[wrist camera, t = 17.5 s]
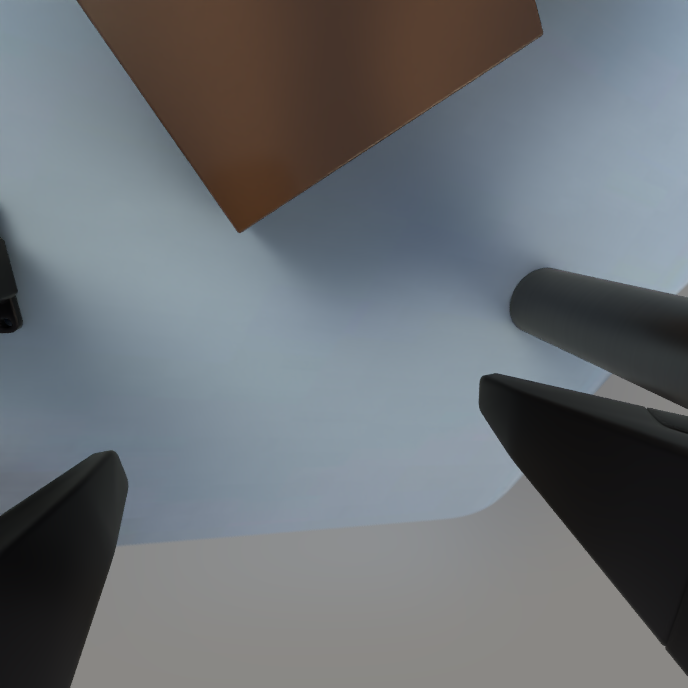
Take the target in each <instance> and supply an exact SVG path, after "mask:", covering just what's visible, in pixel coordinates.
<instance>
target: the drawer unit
mask: <svg viewBox="0 0 688 688" xmlns="http://www.w3.org/2000/svg"><path fill="white" fill-rule="evenodd" d="M76 1H77V2H78V3H79V5H80V6H81V8H82V9H83V11H84V12H85V14H86V15H87V16H88V18H89V19H90V21H91V22H92V24H93V25H94V26H95V28H96V29H97V31H98V32H99V34H100V35H101V37H102V38H103V39H104V41H105V42H106V44H107V45H108V47H109V48H110V49H111V51H112V52H113V54H114V55H115V57H116V58H117V60H118V61H119V62H120V64H121V65H122V67H123V68H124V70H125V71H126V72H127V74H128V75H129V77H130V78H131V80H132V81H133V83H134V84H135V85H136V87H137V88H138V90H139V91H140V93H141V94H142V95H143V97H144V98H145V100H146V101H147V103H148V104H149V106H150V107H151V108H152V110H153V111H154V113H155V114H156V116H157V117H158V118H159V120H160V121H161V123H162V124H163V126H164V127H165V129H166V130H167V131H168V133H169V134H170V136H171V137H172V139H173V140H174V141H175V143H176V144H177V146H178V147H179V149H180V150H181V152H182V153H183V154H184V156H185V157H186V159H187V160H188V162H189V163H190V164H191V166H192V167H193V169H194V170H195V172H196V173H197V175H198V176H199V177H200V179H201V180H202V182H203V183H204V185H205V186H206V187H207V189H208V190H209V192H210V193H211V195H212V196H213V198H214V199H215V200H216V202H217V203H218V205H219V206H220V208H221V209H222V210H223V212H224V213H225V215H226V216H227V218H228V219H229V221H230V222H231V223H232V225H233V226H234V228H235V229H236V231H237V232H238V233H241V232H243V231H244V230H246V229H248V228H249V227H251V226H252V225H254V224H255V223H257V222H258V221H260V220H261V219H263V218H264V217H266V216H267V215H269V214H270V213H272V212H274V211H275V210H277V209H278V208H280V207H281V206H283V205H284V204H286V203H287V202H289V201H290V200H292V199H293V198H295V197H296V196H298V195H299V194H301V193H303V192H304V191H306V190H307V189H309V188H310V187H312V186H313V185H315V184H316V183H318V182H319V181H321V180H322V179H324V178H325V177H327V176H329V175H330V174H332V173H333V172H335V171H336V170H338V169H339V168H341V167H342V166H344V165H345V164H347V163H348V162H350V161H351V160H353V159H354V158H356V157H358V156H359V155H361V154H362V153H364V152H365V151H367V150H368V149H370V148H371V147H373V146H374V145H376V144H377V143H379V142H380V141H382V140H384V139H385V138H387V137H388V136H390V135H391V134H393V133H394V132H396V131H397V130H399V129H400V128H402V127H403V126H405V125H406V124H408V123H410V122H411V121H413V120H414V119H416V118H417V117H419V116H420V115H422V114H423V113H425V112H426V111H428V110H429V109H431V108H432V107H434V106H435V105H437V104H439V103H440V102H442V101H443V100H445V99H446V98H448V97H449V96H451V95H452V94H454V93H455V92H457V91H458V90H460V89H461V88H463V87H465V86H466V85H468V84H469V83H471V82H472V81H474V80H475V79H477V78H478V77H480V76H481V75H483V74H484V73H486V72H487V71H489V70H490V69H492V68H494V67H495V66H497V65H498V64H500V63H501V62H503V61H504V60H506V59H507V58H509V57H510V56H512V55H513V54H515V53H516V52H518V51H520V50H521V49H523V48H524V47H526V46H527V45H529V44H530V43H532V42H533V41H535V40H536V39H538V38H539V37H541V36H542V35H543V29H542V25H541V21H540V18H539V14H538V10H537V6H536V2H535V0H76Z"/></svg>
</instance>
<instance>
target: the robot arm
mask: <svg viewBox="0 0 688 688" xmlns="http://www.w3.org/2000/svg"><path fill="white" fill-rule="evenodd" d="M17 292H18V290H17V286H16V282H15V279H14V275H13V271H12V268H11V264H10V260H9V256H8V253H7V249H6V245H5V242H4V240H3V239H2V238H1V237H0V333H12V332H14V331H16V330H18V329H20V328H21V327H22V325H23V320H22V317H21V313H20V309H19V306H18V302H17V298H16V293H17ZM5 318H6V319H9V320H10V321H11V322H12V326H10V325H8V324H6V323H5ZM479 408H480V411H481V413H482V415H483V416H484V418H485V419H486V421H487V422H488V424H489V425H490V427H491V428H492V430H493V431H494V433H495V435H496V436H497V438H498V439H499V441H500V442H501V444H502V445H503V447H504V448H505V450H506V451H507V453H508V454H509V456H510V457H511V458H512V460H513V461H514V462H515V464H516V465H517V466H518V467H519V469H520V470H521V471H522V472H523V474H524V475H525V476H526V477H527V478H528V480H529V481H530V482H531V483H532V485H533V486H534V487H535V488H536V490H537V491H538V492H539V493H540V494H541V496H542V497H543V498H544V499H545V501H546V502H547V503H548V504H549V506H550V507H551V508H552V509H553V511H554V512H555V513H556V514H557V515H558V517H559V518H560V519H561V520H562V521H563V523H564V524H565V525H566V527H567V528H568V529H569V530H570V531H571V533H572V534H573V535H574V536H575V538H576V539H577V540H578V541H579V543H580V544H581V545H582V546H583V548H584V549H585V550H586V551H587V552H588V554H589V555H590V556H591V557H592V559H593V560H594V561H595V562H596V564H597V565H598V566H599V567H600V568H601V570H602V571H603V572H604V573H605V575H606V576H607V577H608V578H609V579H610V581H611V582H612V583H613V584H614V586H615V587H616V588H617V589H618V591H619V592H620V593H621V594H622V596H623V597H624V598H625V599H626V600H627V602H628V603H629V604H630V605H631V607H632V608H633V609H634V610H635V612H636V613H637V614H638V615H639V616H640V618H641V619H642V620H643V621H644V622H645V624H646V625H647V626H648V628H649V629H650V630H651V631H652V633H653V634H654V635H655V636H656V637H657V639H658V640H659V641H660V642H661V644H662V645H664V646H666V647H665V648H666V650H667V651H668V653H669V654H670V655H671V656H672V658H673V659H674V660H675V661H676V663H677V664H678V665H679V666H680V667H681V669H682V670H683V671H684V672H685V674H686V675H687V676H688V416H684V415H679V414H675V413H670V412H665V411H661V410H657V409H652V408H647V409H646V408H645V407H643V406H639V405H634V404H630V403H626V402H621V401H617V400H612V399H608V398H603V397H599V396H595V395H590V394H586V393H582V392H577V391H573V390H568V389H564V388H559V387H555V386H551V385H546V384H542V383H537V382H533V381H529V380H524V379H520V378H515V377H511V376H507V375H502V374H498V373H494V374H489V375H485V376H482V377H481V379H480V383H479ZM127 492H128V479H127V476H126V474H125V471H124V469H123V466H122V464H121V461H120V459H119V456H118V454H117V453H116V452H115V451H113V450H109V451H104V452H99V453H95V454H92V455H91V456H89V457H88V458H86V459H85V460H83V461H82V462H80V463H79V464H77V465H76V466H74V467H73V468H71V469H70V470H68V471H67V472H65V473H64V474H62V475H61V476H59V477H58V478H56V479H55V480H53V481H52V482H50V483H49V484H47V485H46V486H44V487H43V488H41V489H40V490H38V491H37V492H35V493H34V494H32V495H31V496H29V497H28V498H26V499H25V500H23V501H22V502H20V503H19V504H17V505H16V506H14V507H13V508H11V509H10V510H8V511H7V512H5V513H4V514H2V515H1V516H0V688H70V686H71V683H72V680H73V677H74V674H75V671H76V668H77V665H78V662H79V659H80V656H81V653H82V650H83V647H84V644H85V641H86V638H87V635H88V632H89V629H90V626H91V623H92V620H93V617H94V614H95V611H96V608H97V605H98V601H99V599H100V596H101V593H102V589H103V587H104V584H105V581H106V578H107V574H108V572H109V569H110V565H111V562H112V559H113V556H114V552H115V548H116V544H117V539H118V535H119V530H120V525H121V520H122V516H123V511H124V506H125V502H126V497H127Z"/></svg>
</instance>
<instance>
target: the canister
mask: <svg viewBox="0 0 688 688" xmlns="http://www.w3.org/2000/svg"><path fill="white" fill-rule="evenodd" d="M510 315H511V318H512V320H513V322H514V324H515V325H516V326H517V327H518V328H519V329H520V330H522V331H524V332H526V333H528V334H531V335H533V336H535V337H537V338H539V339H541V340H543V341H545V342H547V343H550V344H552V345H554V346H556V347H558V348H560V349H562V350H564V351H566V352H568V353H571V354H573V355H575V356H577V357H579V358H581V359H583V360H585V361H587V362H590V363H592V364H594V365H596V366H598V367H600V368H602V369H604V370H606V371H608V372H611V373H613V374H615V375H617V376H619V377H621V378H624V379H625V380H628V381H630V382H632V383H634V384H636V385H638V386H640V387H642V388H644V389H646V390H648V391H651V392H653V393H655V394H657V395H659V396H661V397H663V398H665V399H667V400H670V401H672V402H674V403H676V404H678V405H680V406H682V407H684V408H686V409H688V298H687V297H683V296H678V295H674V294H669V293H665V292H660V291H655V290H651V289H646V288H642V287H637V286H632V285H628V284H623V283H618V282H614V281H609V280H604V279H600V278H595V277H590V276H586V275H581V274H576V273H572V272H567V271H562V270H558V269H553V268H541V269H538V270H535V271H533V272H531V273H530V274H528V275H527V276H525V277H524V278H523V279H522V280H521V281H520V283H519V284H518V285H517V287H516V288H515V290H514V292H513V295H512V297H511V302H510Z"/></svg>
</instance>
